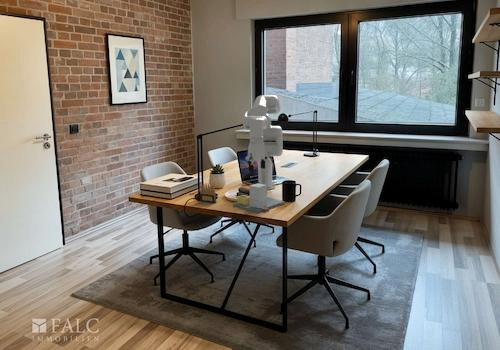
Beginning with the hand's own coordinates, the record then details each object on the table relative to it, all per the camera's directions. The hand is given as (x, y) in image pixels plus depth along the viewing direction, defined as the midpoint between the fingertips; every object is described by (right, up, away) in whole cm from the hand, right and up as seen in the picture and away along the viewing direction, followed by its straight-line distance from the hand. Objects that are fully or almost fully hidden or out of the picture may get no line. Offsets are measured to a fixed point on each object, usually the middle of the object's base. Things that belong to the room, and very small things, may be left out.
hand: (257, 169), depth 248 cm
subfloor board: (+1, -21, +13) cm, 25 cm away
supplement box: (+1, -21, +5) cm, 22 cm away
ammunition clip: (-30, -20, +21) cm, 42 cm away
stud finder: (-7, -20, +11) cm, 24 cm away
